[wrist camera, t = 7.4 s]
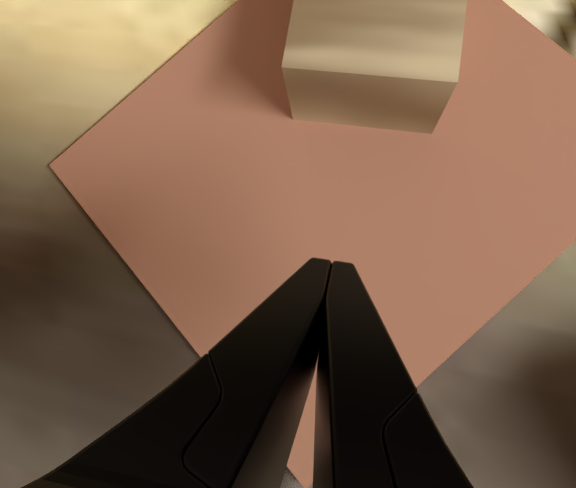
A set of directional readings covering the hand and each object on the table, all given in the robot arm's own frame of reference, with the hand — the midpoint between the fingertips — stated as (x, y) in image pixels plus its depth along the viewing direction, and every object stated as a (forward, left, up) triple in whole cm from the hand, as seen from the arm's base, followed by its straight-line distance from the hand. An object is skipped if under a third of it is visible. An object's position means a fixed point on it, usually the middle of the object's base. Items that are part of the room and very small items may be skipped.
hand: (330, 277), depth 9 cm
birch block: (+6, +5, -7) cm, 10 cm away
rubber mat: (+4, +4, -9) cm, 11 cm away
